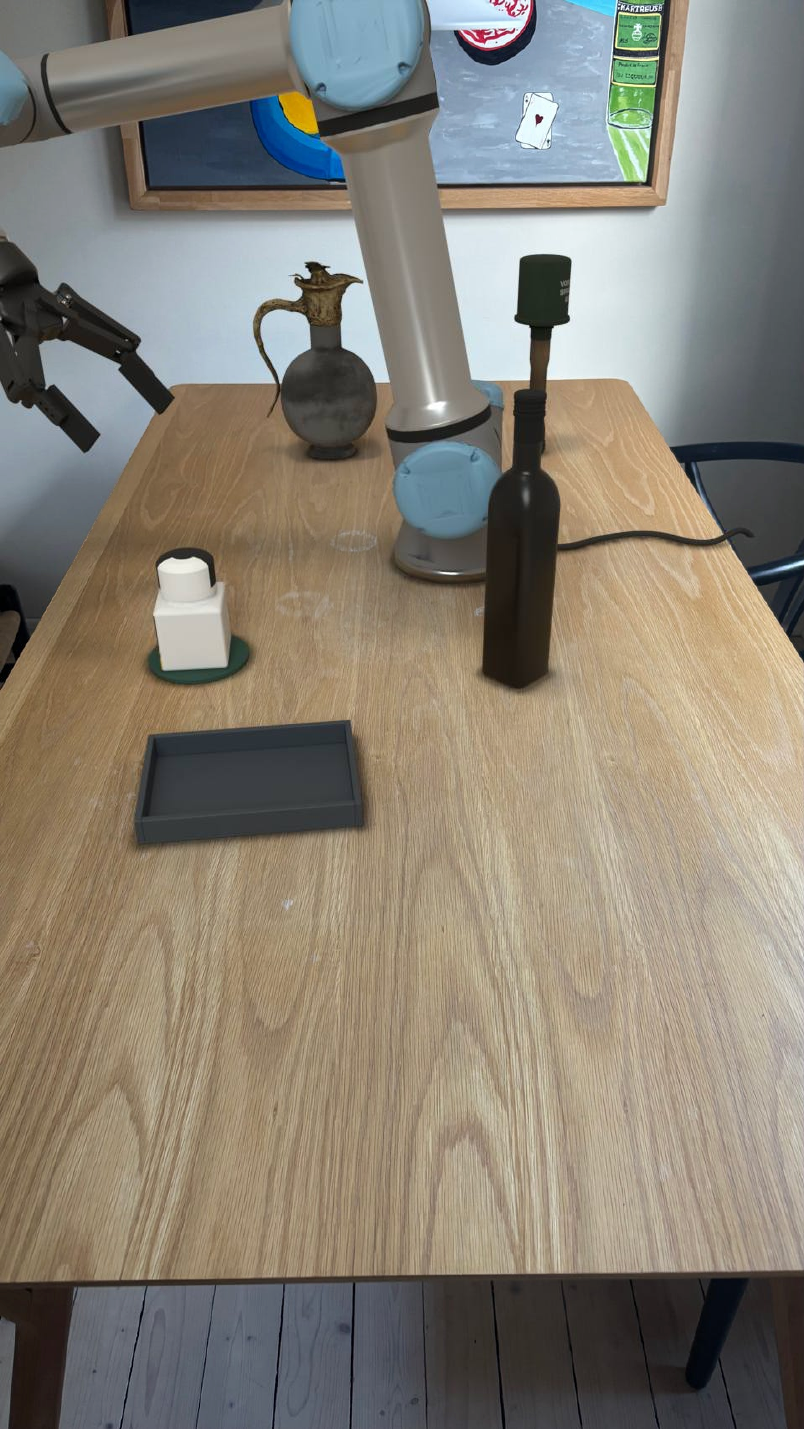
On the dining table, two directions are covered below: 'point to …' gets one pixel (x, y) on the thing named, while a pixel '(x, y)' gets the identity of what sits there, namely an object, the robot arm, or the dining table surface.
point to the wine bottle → (521, 555)
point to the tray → (248, 782)
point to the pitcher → (322, 370)
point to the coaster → (235, 663)
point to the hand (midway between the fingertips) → (132, 424)
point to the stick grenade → (542, 308)
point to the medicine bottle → (191, 612)
